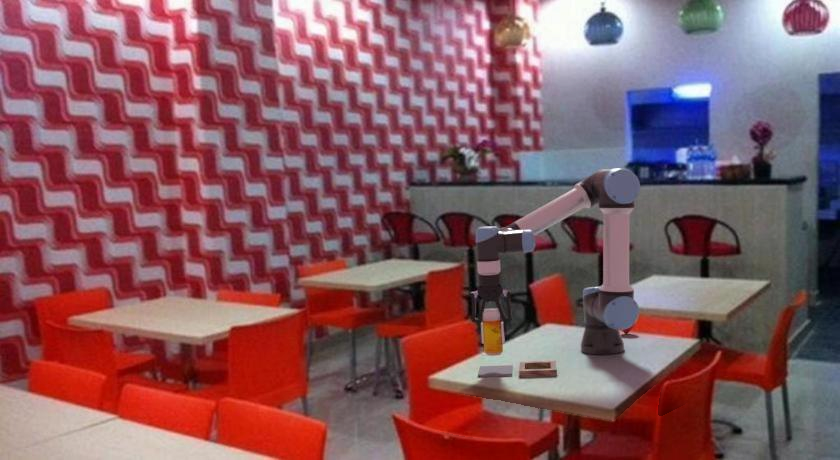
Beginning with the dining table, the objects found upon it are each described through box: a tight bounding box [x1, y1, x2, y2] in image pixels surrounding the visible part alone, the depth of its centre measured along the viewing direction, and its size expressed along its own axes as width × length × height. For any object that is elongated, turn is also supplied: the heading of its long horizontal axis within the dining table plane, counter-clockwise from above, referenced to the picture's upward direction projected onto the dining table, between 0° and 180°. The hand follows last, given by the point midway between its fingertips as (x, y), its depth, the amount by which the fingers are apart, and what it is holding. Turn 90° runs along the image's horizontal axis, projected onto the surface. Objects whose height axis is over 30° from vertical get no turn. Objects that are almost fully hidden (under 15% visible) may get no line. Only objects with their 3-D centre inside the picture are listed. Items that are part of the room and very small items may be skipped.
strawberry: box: [621, 322, 636, 335], centre depth 301 cm, size 6×8×10 cm
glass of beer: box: [482, 307, 504, 357], centre depth 256 cm, size 6×6×15 cm
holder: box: [518, 360, 558, 378], centre depth 254 cm, size 12×12×2 cm
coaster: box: [477, 364, 513, 378], centre depth 257 cm, size 11×11×1 cm
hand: (493, 342), depth 257 cm, fingers closed on glass of beer, 6 cm apart
